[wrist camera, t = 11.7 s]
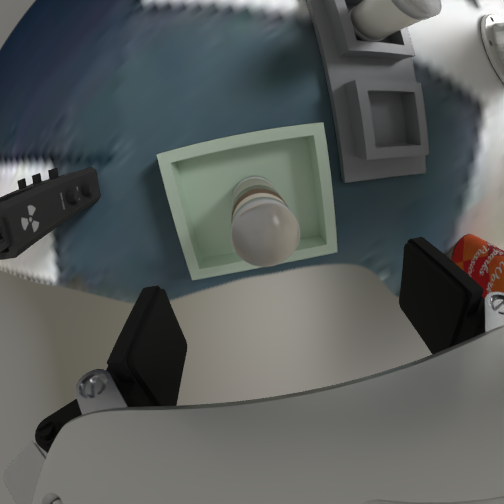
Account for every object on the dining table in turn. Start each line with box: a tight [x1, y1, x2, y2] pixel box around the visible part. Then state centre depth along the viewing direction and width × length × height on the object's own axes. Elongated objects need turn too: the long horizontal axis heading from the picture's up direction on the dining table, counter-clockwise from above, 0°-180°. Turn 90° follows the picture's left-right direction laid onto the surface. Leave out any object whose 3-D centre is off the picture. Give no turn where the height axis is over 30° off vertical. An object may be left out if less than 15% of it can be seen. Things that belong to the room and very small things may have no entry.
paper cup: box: [452, 234, 504, 298], centre depth 24 cm, size 8×8×14 cm
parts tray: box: [157, 122, 338, 280], centre depth 25 cm, size 14×12×3 cm
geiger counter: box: [0, 167, 100, 260], centre depth 17 cm, size 10×4×15 cm, turn 94°
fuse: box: [349, 0, 442, 42], centre depth 14 cm, size 4×4×10 cm
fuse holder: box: [306, 0, 429, 183], centre depth 20 cm, size 10×22×4 cm, turn 11°
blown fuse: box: [231, 175, 300, 267], centre depth 21 cm, size 4×4×10 cm
